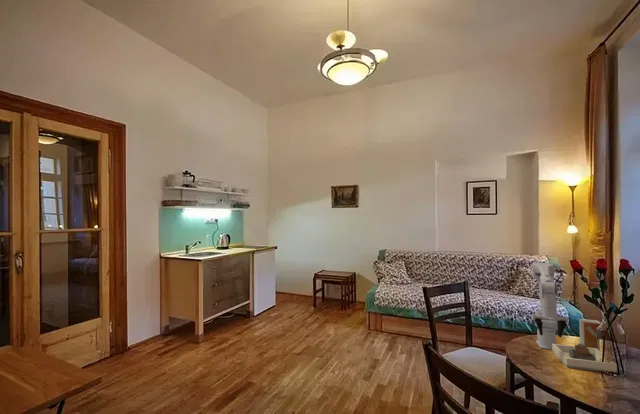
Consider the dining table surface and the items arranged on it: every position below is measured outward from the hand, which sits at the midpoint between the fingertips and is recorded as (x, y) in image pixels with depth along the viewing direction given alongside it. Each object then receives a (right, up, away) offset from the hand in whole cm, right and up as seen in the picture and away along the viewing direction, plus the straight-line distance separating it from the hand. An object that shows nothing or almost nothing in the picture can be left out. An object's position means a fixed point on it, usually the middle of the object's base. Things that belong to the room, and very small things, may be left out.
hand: (550, 335), depth 153 cm
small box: (+31, -11, +13) cm, 36 cm away
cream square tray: (+11, -10, -5) cm, 16 cm away
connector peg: (+11, -9, -5) cm, 15 cm away
